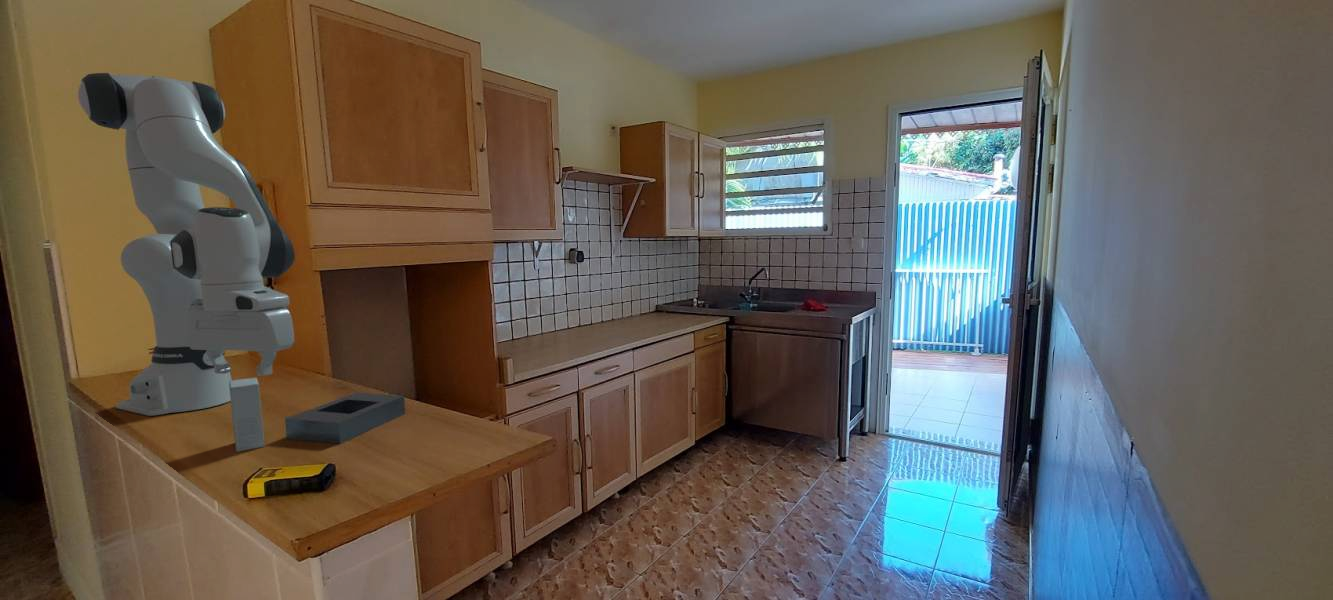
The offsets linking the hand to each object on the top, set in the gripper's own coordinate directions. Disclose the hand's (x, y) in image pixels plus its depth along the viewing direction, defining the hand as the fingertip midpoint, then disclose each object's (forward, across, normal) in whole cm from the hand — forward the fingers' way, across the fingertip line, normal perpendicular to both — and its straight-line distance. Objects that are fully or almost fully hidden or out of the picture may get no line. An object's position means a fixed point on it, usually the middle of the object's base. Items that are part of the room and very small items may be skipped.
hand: (243, 373), depth 98 cm
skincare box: (+14, -1, 0) cm, 14 cm away
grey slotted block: (+14, +9, +13) cm, 21 cm away
